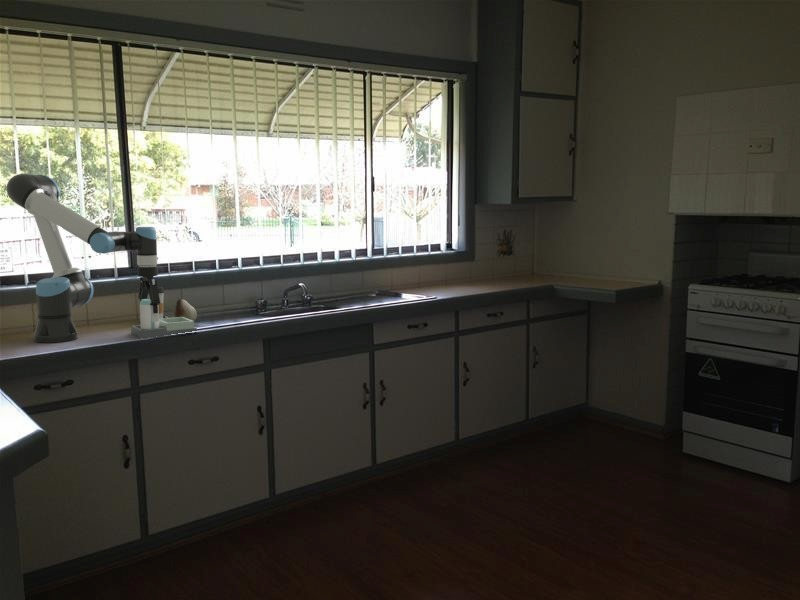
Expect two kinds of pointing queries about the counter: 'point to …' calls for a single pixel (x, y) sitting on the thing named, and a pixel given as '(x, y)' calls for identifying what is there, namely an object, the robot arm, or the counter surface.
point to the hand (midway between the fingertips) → (149, 319)
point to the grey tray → (165, 327)
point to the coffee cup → (161, 305)
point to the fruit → (184, 310)
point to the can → (147, 315)
